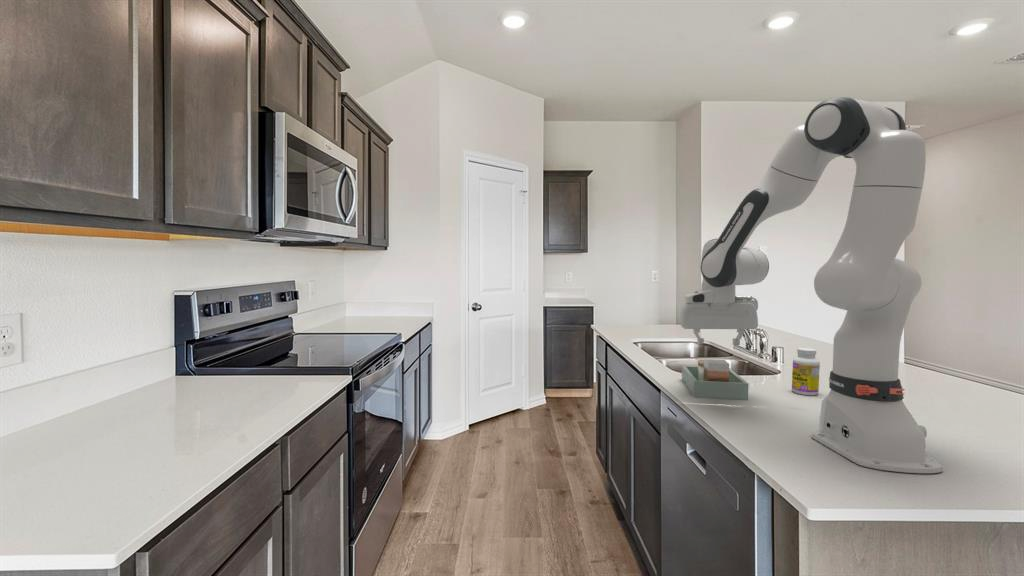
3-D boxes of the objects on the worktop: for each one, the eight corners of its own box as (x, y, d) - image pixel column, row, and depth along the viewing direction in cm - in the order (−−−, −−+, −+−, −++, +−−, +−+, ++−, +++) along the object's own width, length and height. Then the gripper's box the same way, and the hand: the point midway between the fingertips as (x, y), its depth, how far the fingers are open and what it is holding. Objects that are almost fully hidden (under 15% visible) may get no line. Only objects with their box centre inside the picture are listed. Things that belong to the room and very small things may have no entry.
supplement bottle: (786, 390, 140) (787, 347, 139) (803, 389, 142) (805, 346, 141) (806, 397, 134) (808, 351, 133) (824, 395, 136) (825, 350, 135)
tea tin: (723, 390, 138) (724, 359, 137) (728, 395, 132) (729, 363, 132) (703, 389, 139) (703, 359, 138) (707, 394, 133) (708, 363, 133)
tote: (747, 402, 129) (748, 383, 128) (693, 399, 131) (693, 381, 131) (728, 383, 148) (729, 367, 148) (681, 381, 151) (682, 365, 150)
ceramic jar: (722, 387, 141) (722, 364, 140) (699, 386, 142) (700, 363, 142) (717, 382, 147) (717, 360, 147) (695, 381, 148) (695, 359, 148)
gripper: (754, 295, 135) (754, 343, 136) (679, 295, 139) (679, 342, 139) (761, 296, 129) (761, 347, 129) (682, 296, 133) (682, 346, 133)
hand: (718, 345), depth 134 cm, fingers open, 8 cm apart
